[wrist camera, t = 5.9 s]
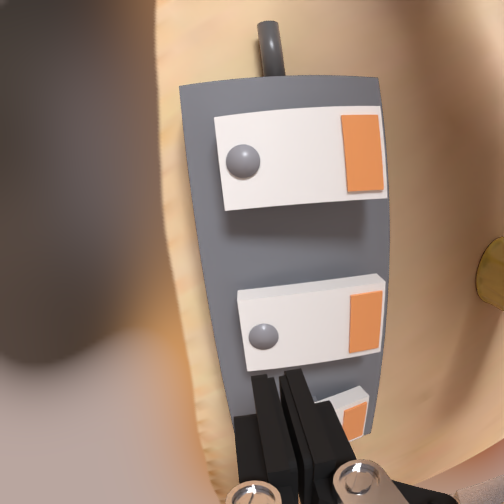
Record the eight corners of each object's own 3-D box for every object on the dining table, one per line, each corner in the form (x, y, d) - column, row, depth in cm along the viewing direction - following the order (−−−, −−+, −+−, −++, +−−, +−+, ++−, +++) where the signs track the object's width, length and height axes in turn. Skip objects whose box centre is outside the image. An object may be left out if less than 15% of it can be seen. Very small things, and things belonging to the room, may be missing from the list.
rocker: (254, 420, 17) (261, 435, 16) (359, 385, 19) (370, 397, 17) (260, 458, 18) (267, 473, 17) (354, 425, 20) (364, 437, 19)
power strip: (180, 38, 16) (172, 11, 12) (343, 32, 16) (369, 9, 13) (237, 428, 24) (241, 465, 20) (355, 405, 24) (372, 437, 20)
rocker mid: (237, 290, 16) (237, 302, 14) (376, 273, 16) (386, 283, 14) (247, 358, 17) (247, 373, 16) (373, 340, 17) (381, 353, 15)
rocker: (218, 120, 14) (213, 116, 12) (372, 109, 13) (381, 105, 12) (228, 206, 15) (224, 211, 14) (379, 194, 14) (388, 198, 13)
